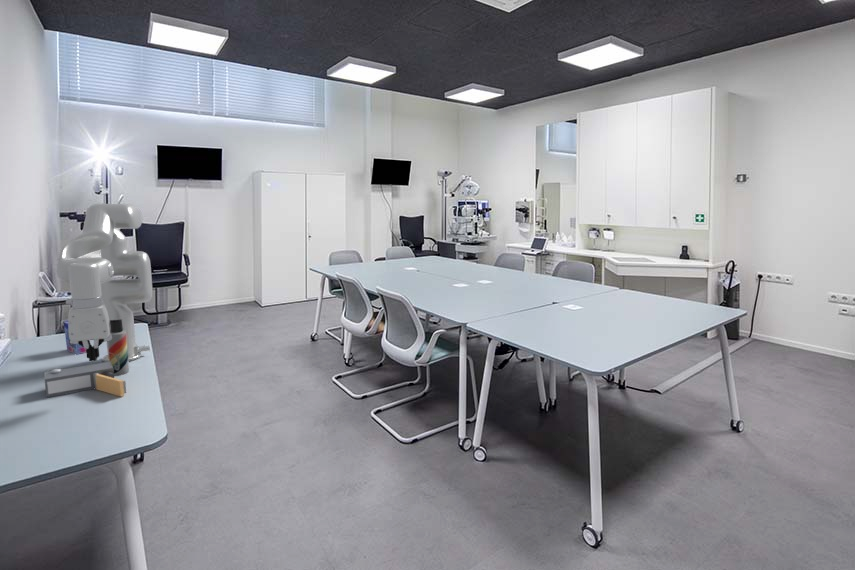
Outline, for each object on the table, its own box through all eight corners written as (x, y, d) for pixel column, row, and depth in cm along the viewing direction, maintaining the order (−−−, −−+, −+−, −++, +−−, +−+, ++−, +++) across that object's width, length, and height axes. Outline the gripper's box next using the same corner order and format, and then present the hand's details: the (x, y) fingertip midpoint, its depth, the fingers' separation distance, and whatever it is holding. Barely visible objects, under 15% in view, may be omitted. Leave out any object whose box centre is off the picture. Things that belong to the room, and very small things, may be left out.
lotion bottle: (109, 376, 166) (104, 321, 163) (111, 371, 171) (107, 318, 168) (128, 374, 169) (124, 320, 165) (130, 369, 174) (125, 316, 170)
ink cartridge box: (65, 350, 194) (62, 316, 191) (81, 347, 198) (78, 314, 196) (74, 355, 188) (71, 320, 186) (90, 351, 192) (87, 317, 190)
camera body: (111, 377, 165) (110, 359, 163) (115, 386, 157) (113, 366, 156) (46, 389, 153) (43, 369, 152) (46, 398, 146) (44, 378, 145)
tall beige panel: (93, 388, 154) (92, 373, 153) (100, 386, 156) (98, 372, 155) (120, 396, 148) (119, 381, 147) (126, 394, 150) (125, 379, 149)
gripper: (53, 307, 136) (60, 366, 139) (114, 303, 142) (119, 360, 146) (60, 301, 142) (67, 358, 146) (118, 298, 149) (123, 353, 152)
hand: (93, 359), depth 146 cm, fingers closed
